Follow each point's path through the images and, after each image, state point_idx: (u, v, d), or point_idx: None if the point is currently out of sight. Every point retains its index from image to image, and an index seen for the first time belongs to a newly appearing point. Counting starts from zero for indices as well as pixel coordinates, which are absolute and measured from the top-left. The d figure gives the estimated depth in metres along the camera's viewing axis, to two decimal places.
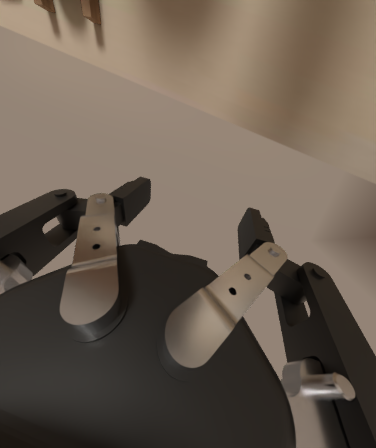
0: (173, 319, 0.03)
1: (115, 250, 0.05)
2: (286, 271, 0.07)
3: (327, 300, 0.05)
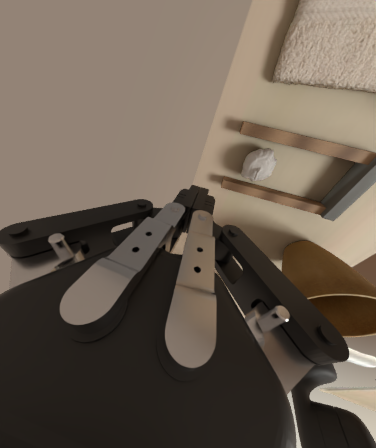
0: (173, 319, 0.03)
1: (145, 262, 0.05)
2: None
3: (247, 251, 0.07)
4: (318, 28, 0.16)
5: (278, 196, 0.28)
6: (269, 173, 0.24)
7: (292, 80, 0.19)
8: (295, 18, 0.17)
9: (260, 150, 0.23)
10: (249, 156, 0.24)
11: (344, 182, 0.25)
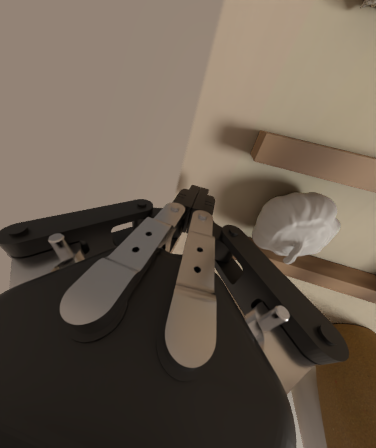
0: (173, 319, 0.03)
1: (145, 262, 0.05)
2: None
3: (247, 251, 0.07)
4: None
5: (326, 278, 0.14)
6: (320, 250, 0.11)
7: None
8: None
9: (302, 201, 0.10)
10: (274, 211, 0.10)
11: None
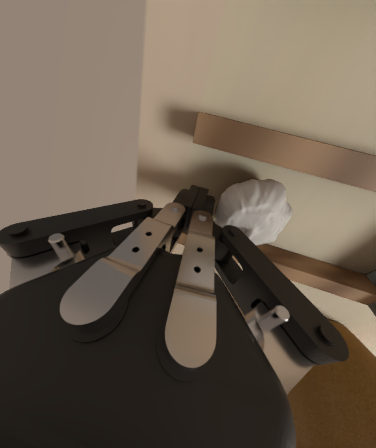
0: (173, 319, 0.03)
1: (145, 262, 0.05)
2: None
3: (247, 251, 0.07)
4: None
5: (284, 268, 0.14)
6: (274, 238, 0.10)
7: None
8: None
9: (253, 186, 0.09)
10: (227, 197, 0.10)
11: None
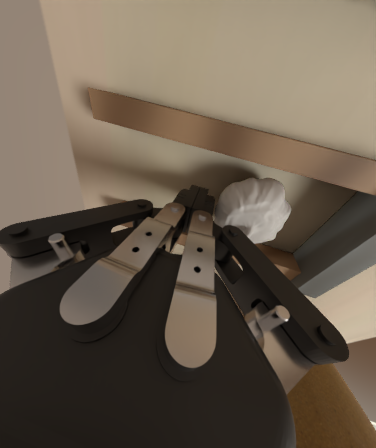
0: (173, 319, 0.03)
1: (145, 262, 0.05)
2: None
3: (247, 251, 0.07)
4: None
5: None
6: (272, 236, 0.10)
7: None
8: None
9: (252, 184, 0.09)
10: (226, 196, 0.10)
11: (336, 228, 0.11)
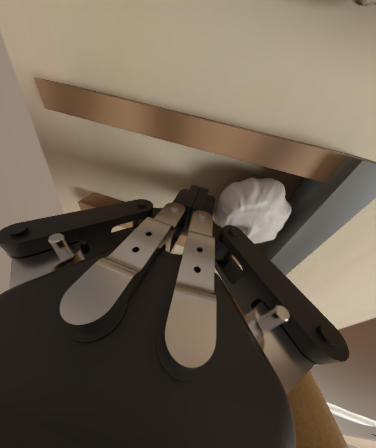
0: (173, 319, 0.03)
1: (145, 262, 0.05)
2: None
3: (247, 251, 0.07)
4: None
5: None
6: (273, 236, 0.10)
7: None
8: None
9: (252, 184, 0.09)
10: (226, 196, 0.10)
11: None
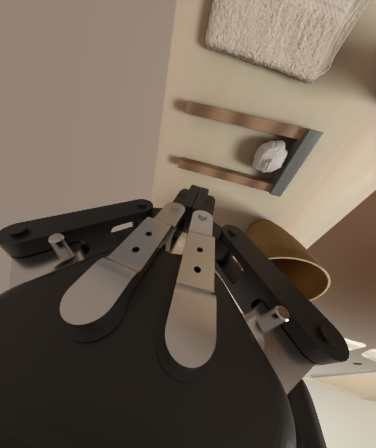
0: (173, 319, 0.03)
1: (145, 262, 0.05)
2: None
3: (247, 251, 0.07)
4: None
5: (229, 174, 0.29)
6: (280, 164, 0.25)
7: (219, 47, 0.20)
8: None
9: (272, 141, 0.24)
10: (261, 147, 0.25)
11: (286, 158, 0.26)
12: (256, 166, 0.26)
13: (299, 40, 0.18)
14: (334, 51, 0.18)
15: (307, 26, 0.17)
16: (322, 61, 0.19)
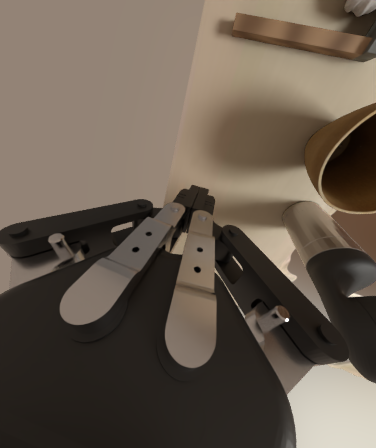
0: (173, 319, 0.03)
1: (145, 262, 0.05)
2: None
3: (247, 251, 0.07)
4: None
5: (308, 29, 0.21)
6: None
7: None
8: None
9: None
10: None
11: None
12: None
13: None
14: None
15: None
16: None
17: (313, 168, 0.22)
